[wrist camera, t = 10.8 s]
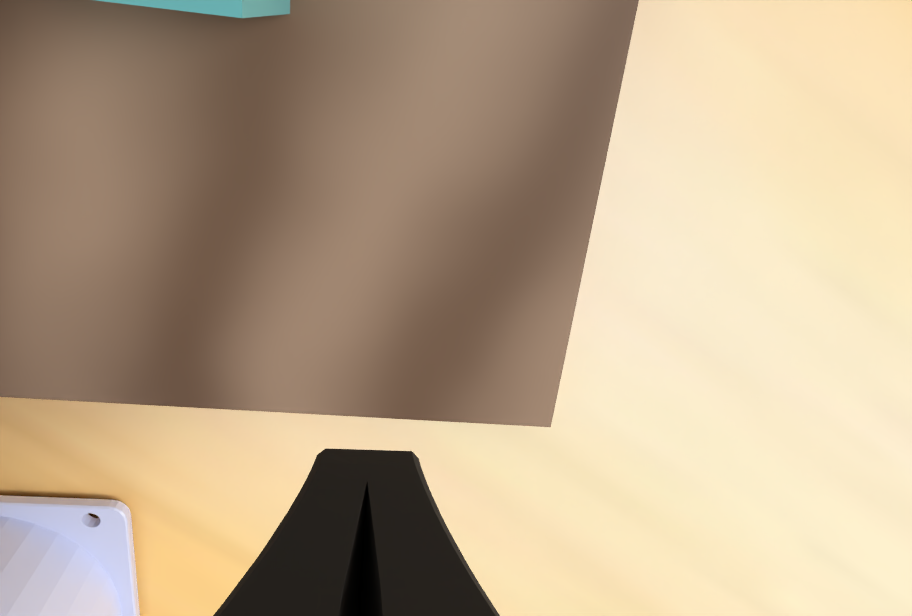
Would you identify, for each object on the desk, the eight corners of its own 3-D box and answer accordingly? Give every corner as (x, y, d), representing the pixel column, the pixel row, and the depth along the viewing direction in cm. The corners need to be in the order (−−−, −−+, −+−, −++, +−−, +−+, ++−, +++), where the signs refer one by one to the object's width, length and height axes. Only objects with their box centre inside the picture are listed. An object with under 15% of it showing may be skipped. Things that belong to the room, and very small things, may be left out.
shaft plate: (-113, 365, 18) (-248, 461, 14) (-307, -439, 12) (-641, -650, 8) (542, 404, 20) (575, 496, 17) (672, -255, 14) (775, -351, 10)
